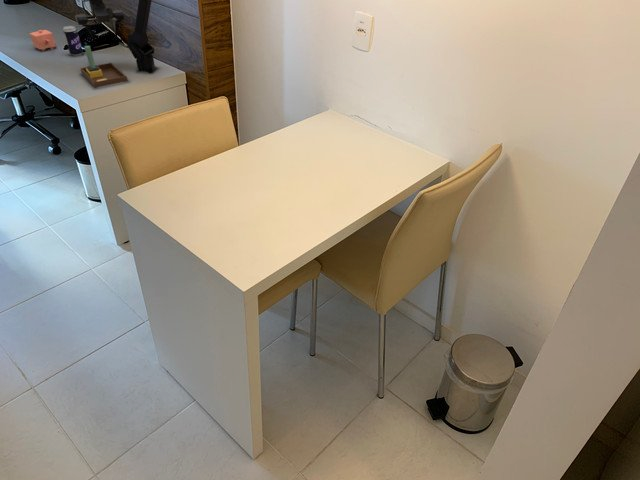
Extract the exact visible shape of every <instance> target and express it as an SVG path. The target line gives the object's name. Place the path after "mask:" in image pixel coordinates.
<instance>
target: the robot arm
mask: <svg viewBox="0 0 640 480" xmlns="http://www.w3.org/2000/svg"><path fill="white" fill-rule="evenodd" d="M88 5H89V8H90V12H91V15H86V13H78V14H75V16H74V18H75V21H76V23H77V25H79V26H82V28H83V27H85V28H86V30H87V31H88V33H89V34H90V36H91V38H92V40H93V41H96V38H95V34H94V32H93V30H92V27H91V24H90V23H89V22H92V21H97V23H98V24H102V23H109V22H110V21H112V25H113V33H114V36H115V38H118V33H119V26H120V23H122V22H123V21H124V20H126V17H125V13H124V11H122V10H121V9H113V8H112V7H106V4H105V1H104V0H88ZM151 5H152V0H138V3H137V10H136V17H135V23H134V30H132V31H131V32H130V33H128V35H127V42H126V44H127V48H128V50H129V51H130V52H131V55H132V56H133V58H134V59H135V62H136V67H137V72H143V73H148V74H152V73H153V72H154V71H155V70H156V69H158V67H157V66H156V64H155V58H154V54H155V48H154V47H153V46H152V45H151V44H150V43H149V37H148V34H147V30H148V24H149V18H150V13H151V12H150V11H151ZM110 19H112V20H110Z"/></svg>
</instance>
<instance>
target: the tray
mask: <svg viewBox="0 0 640 480" xmlns="http://www.w3.org/2000/svg"><path fill="white" fill-rule="evenodd" d="M96 65H97V66H98V67H99V68H100V69H101V71H102V75H103V76H101V77H95V78H91V77H90V76H89V75H88V74H87V71H86V68H87V67H88V66H86V67H80V72H81V74H82V75H83V77H85V78H86V80H87V81H88V82H89V83H90V84H91V85H92V86H93V87H94V88H100V87H104V86H110V85H115V84H119V83H125V82H128V77H127V75H126V74H125V73H123V72H122V71H121V69H119V68H118V67H117V66H116V65H115V64H114V63H113V62H106V63H102V64H96ZM105 78H106V79H107V80H102V81H96V80H100V79H105Z"/></svg>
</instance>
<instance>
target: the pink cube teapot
mask: <svg viewBox="0 0 640 480" xmlns="http://www.w3.org/2000/svg"><path fill="white" fill-rule="evenodd" d="M29 35H30V36H29V37H30V39H31V42H32V44H33V46H34V48H36V49H37V50H41V51H42V52H44V51H46V49H50V50H54V48H55V47H57V43H56V41H55V37H54V34H53V32H52V31H49V30H47V29H39V30H37V31H33V32H29Z"/></svg>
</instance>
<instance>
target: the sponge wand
mask: <svg viewBox="0 0 640 480" xmlns="http://www.w3.org/2000/svg"><path fill="white" fill-rule="evenodd" d="M83 49H84V52H85V55H86V58H87V62H88V66H86V67H87V68H86V71H87V74H88V75H89V76H90V77H91V78H95V77H101V76H103V75H102V71H101V69H100V68H99V67H98V66H97V65H98V64H96V63H95V59H94V56H93V52H92V49H91V45H84V48H83Z"/></svg>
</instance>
